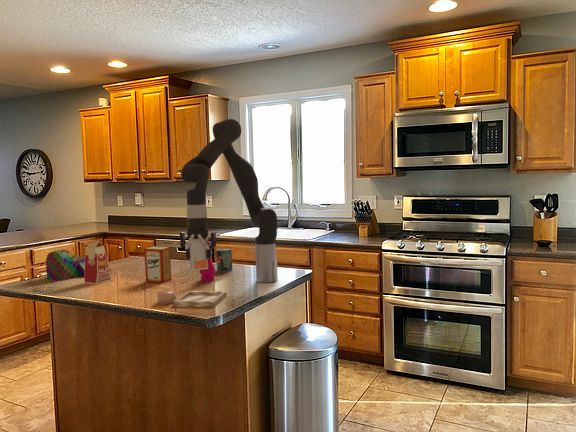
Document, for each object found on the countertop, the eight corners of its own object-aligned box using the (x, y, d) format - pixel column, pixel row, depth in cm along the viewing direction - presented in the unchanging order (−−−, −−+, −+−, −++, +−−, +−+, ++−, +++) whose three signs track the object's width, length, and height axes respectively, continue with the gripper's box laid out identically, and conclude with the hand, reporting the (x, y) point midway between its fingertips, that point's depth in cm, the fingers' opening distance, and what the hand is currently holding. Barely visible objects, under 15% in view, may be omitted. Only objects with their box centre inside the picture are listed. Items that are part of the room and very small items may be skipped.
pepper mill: (212, 282, 222) (210, 238, 221) (197, 281, 224) (195, 238, 222) (217, 278, 230) (216, 236, 228) (203, 278, 231) (201, 236, 229)
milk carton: (111, 280, 231) (109, 239, 229) (96, 285, 223) (94, 241, 221) (97, 279, 235) (95, 238, 233) (82, 283, 227) (79, 241, 225)
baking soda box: (171, 280, 229) (169, 246, 228) (163, 283, 223) (161, 248, 222) (154, 279, 233) (152, 245, 231) (146, 282, 226) (144, 247, 225)
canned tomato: (235, 269, 250) (234, 248, 249) (225, 272, 244) (224, 250, 243) (223, 268, 255) (222, 247, 254) (213, 271, 248) (212, 249, 247)
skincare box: (193, 271, 184) (191, 239, 183) (190, 269, 188) (188, 238, 187) (208, 269, 187) (207, 238, 186) (205, 267, 191) (203, 237, 190)
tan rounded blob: (178, 300, 192) (178, 290, 191) (171, 304, 185) (171, 294, 185) (162, 299, 193) (161, 289, 193) (154, 304, 186) (154, 294, 186)
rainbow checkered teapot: (72, 281, 233) (70, 252, 232) (47, 279, 240) (45, 250, 238) (110, 271, 256) (109, 244, 254) (86, 269, 262) (84, 243, 261)
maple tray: (226, 296, 195) (226, 291, 195) (213, 307, 179) (213, 302, 179) (188, 295, 198) (188, 290, 198) (172, 306, 182) (172, 301, 182)
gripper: (218, 215, 188) (219, 257, 190) (183, 215, 191) (184, 257, 192) (211, 217, 181) (213, 260, 182) (175, 217, 184) (177, 260, 185)
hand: (198, 258), depth 187 cm, fingers closed on skincare box, 7 cm apart
